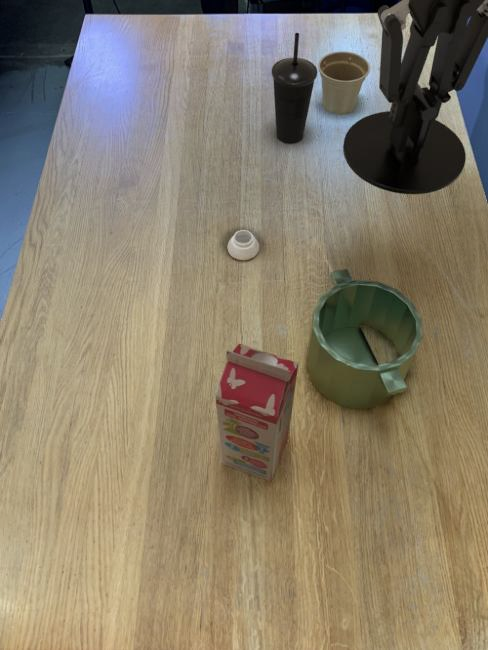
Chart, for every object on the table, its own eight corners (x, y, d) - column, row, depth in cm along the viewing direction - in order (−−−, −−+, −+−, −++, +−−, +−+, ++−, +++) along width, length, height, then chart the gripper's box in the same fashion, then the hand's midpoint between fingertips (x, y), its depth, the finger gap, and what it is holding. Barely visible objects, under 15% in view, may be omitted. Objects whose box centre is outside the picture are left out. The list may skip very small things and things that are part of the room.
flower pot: (349, 128, 113) (356, 87, 106) (305, 111, 116) (309, 71, 109) (370, 101, 117) (378, 60, 110) (327, 86, 120) (332, 45, 113)
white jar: (221, 246, 96) (238, 266, 94) (221, 233, 94) (238, 253, 92) (247, 233, 98) (265, 252, 96) (247, 220, 96) (265, 240, 93)
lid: (431, 110, 79) (450, 45, 72) (484, 185, 71) (513, 121, 64) (325, 129, 77) (334, 64, 70) (368, 208, 69) (384, 144, 62)
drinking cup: (316, 130, 112) (328, 27, 96) (301, 155, 109) (310, 52, 92) (278, 120, 114) (284, 16, 98) (262, 144, 110) (265, 40, 94)
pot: (373, 301, 90) (386, 255, 81) (429, 411, 80) (452, 372, 71) (287, 322, 88) (291, 278, 79) (334, 438, 78) (345, 401, 69)
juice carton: (240, 418, 79) (238, 325, 61) (288, 435, 78) (300, 345, 60) (221, 463, 76) (213, 378, 58) (271, 482, 74) (278, 401, 56)
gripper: (519, -100, 56) (448, 114, 76) (371, -82, 54) (337, 134, 74) (563, -64, 52) (476, 152, 72) (405, -43, 50) (359, 174, 69)
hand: (405, 143), depth 73 cm, fingers closed on lid, 2 cm apart
